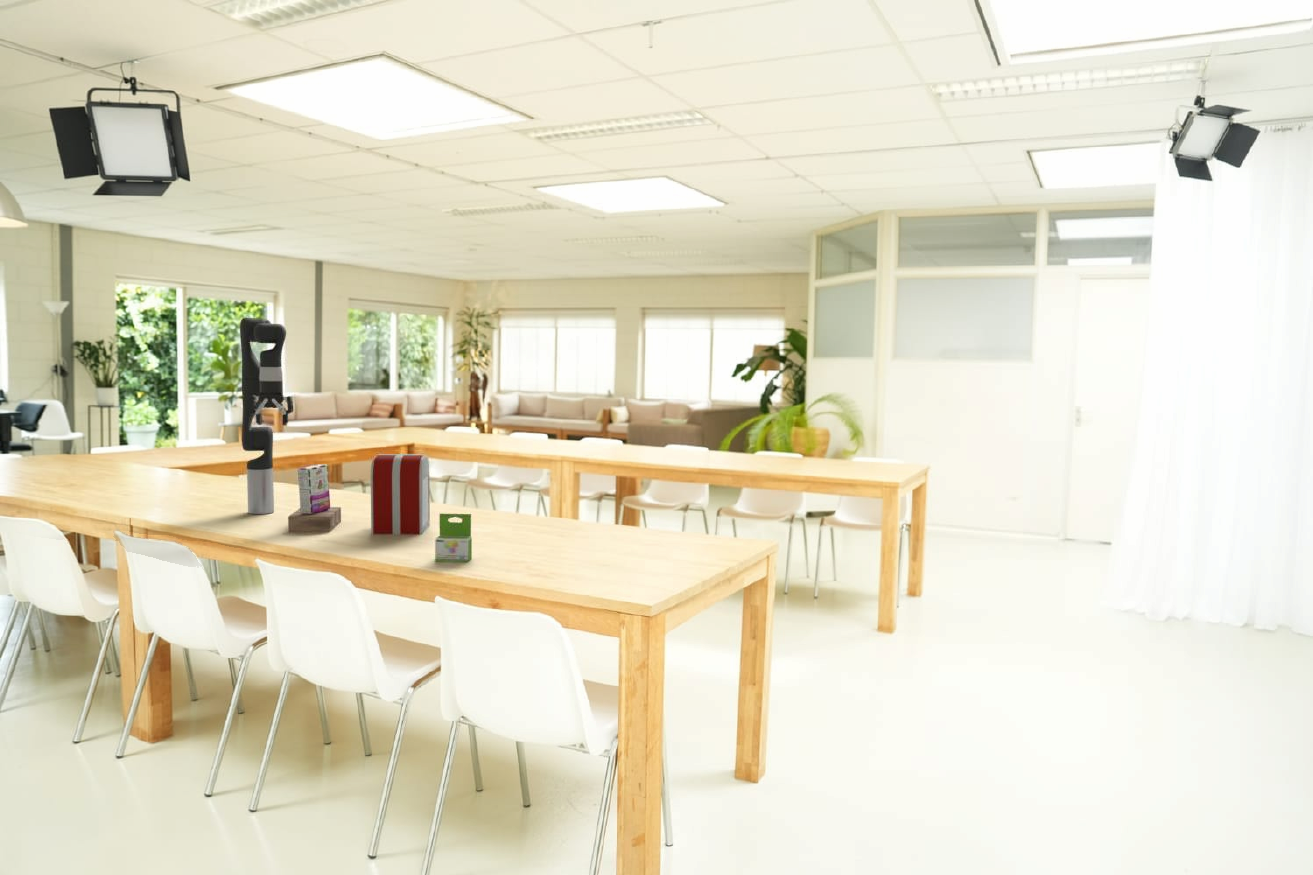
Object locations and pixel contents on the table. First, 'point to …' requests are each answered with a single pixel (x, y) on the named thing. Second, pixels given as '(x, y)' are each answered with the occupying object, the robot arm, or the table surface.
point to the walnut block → (314, 521)
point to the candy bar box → (314, 489)
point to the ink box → (454, 539)
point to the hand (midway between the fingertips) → (272, 424)
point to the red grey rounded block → (400, 494)
